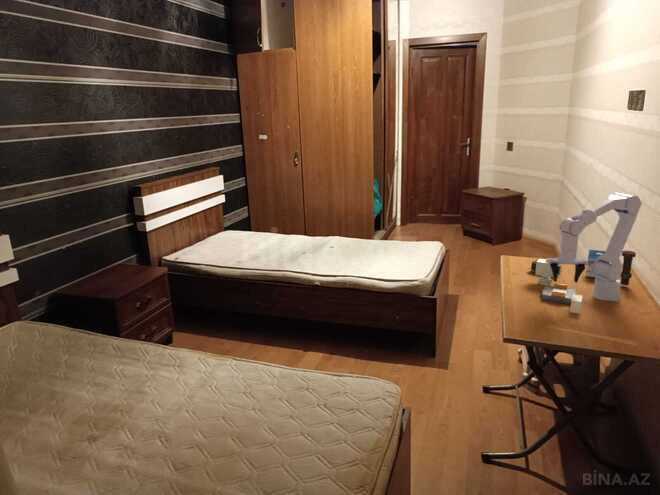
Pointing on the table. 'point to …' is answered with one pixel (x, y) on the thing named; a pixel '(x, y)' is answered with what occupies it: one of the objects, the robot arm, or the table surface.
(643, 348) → the table surface
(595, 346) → the table surface
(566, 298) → the motor housing
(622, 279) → the bolt
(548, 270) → the pneumatic valve
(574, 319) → the table surface
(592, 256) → the label tape cartridge
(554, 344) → the table surface
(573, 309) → the block
